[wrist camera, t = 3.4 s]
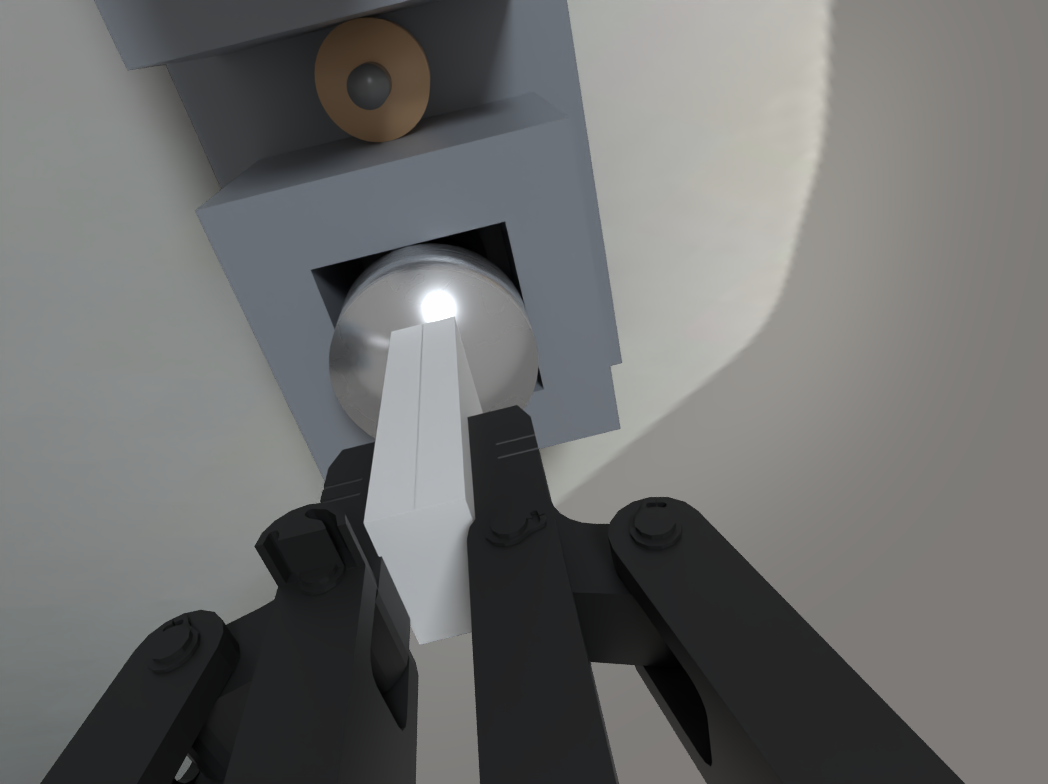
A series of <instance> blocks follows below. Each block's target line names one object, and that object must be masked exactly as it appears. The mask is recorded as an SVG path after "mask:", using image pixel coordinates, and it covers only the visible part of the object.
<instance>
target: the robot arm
mask: <svg viewBox="0 0 1048 784" xmlns="http://www.w3.org/2000/svg"><path fill="white" fill-rule="evenodd" d="M320 502H321V503H317V504H309V505H306V506H303V507H300V508H297V509H295V510H292V511H290V512H288V513H287V514H285V515H284V516H282V517H280V518H279V519H277V520H275V521H274V522H273V523H272V524H271V525H270V526H269V527H268V528H267V529H266V530H265V531H264V532H263V533H262V534H261V536H260V538H259V539H258V541H257V543H256V545H255V548H256V550H257V552H258V553H259V555H260V557H261V558H262V560H263V562H264V563H265V565H266V567H267V568H268V570H269V572H270V574H271V575H272V577H273V579H274V580H275V582H276V584H277V585H278V589H277V593H276V596H275V599H274V600H273V601H271V602H270V603H268V604H266V605H264V606H263V607H261V608H259V609H257V610H255V611H253V612H251V613H249V614H247V615H245V616H243V617H241V618H239V619H237V620H235V621H233V622H231V623H229V624H227V625H225V623H224V622H223V620H222V619H221V618H220V617H219V616H218V615H217V614H216V613H215V612H211V611H205V610H198V611H193V612H189V613H184V614H182V615H180V616H178V617H176V618H174V619H172V620H169V621H167V622H165V623H164V624H163V625H161V626H160V627H159V628H157V629H156V630H155V631H153V632H152V633H151V634H149V635H148V636H147V637H146V639H145V640H144V641H143V642H142V643H141V644H140V645H139V646H138V647H137V649H136V650H135V651H134V652H133V654H132V655H131V656H130V658H129V659H128V661H127V662H126V663H125V665H124V666H123V668H122V669H121V671H120V672H119V673H118V675H117V676H116V678H115V679H114V680H113V682H112V683H111V685H110V686H109V687H108V689H107V690H106V692H105V693H104V694H103V696H102V697H101V699H100V700H99V702H98V703H97V704H96V706H95V707H94V709H93V710H92V711H91V713H90V714H89V716H88V717H87V718H86V720H85V721H84V723H83V724H82V725H81V727H80V728H79V730H78V731H77V733H76V734H75V735H74V737H73V738H72V740H71V741H70V742H69V744H68V745H67V747H66V748H65V749H64V751H63V752H62V754H61V755H60V757H59V758H58V759H57V761H56V762H55V764H54V765H53V766H52V768H51V769H50V771H49V772H48V773H47V775H46V776H45V778H44V779H43V780H42V782H41V783H40V784H416V746H417V707H418V671H417V667H416V662H415V660H414V658H413V656H412V654H411V652H410V650H409V638H410V626H411V628H412V630H413V632H414V634H415V637H416V639H417V641H418V643H419V645H421V644H425V643H429V642H434V641H438V640H442V639H446V638H450V637H454V636H458V635H462V634H466V633H471V632H472V644H473V662H474V678H475V679H474V680H475V697H476V717H477V735H478V752H479V769H480V770H479V772H480V784H619V782H618V777H617V773H616V769H615V765H614V761H613V756H612V752H611V748H610V744H609V739H608V735H607V731H606V727H605V722H604V718H603V714H602V710H601V706H600V701H599V697H598V693H597V689H596V685H595V680H594V676H593V672H592V668H591V662H600V663H613V664H627V665H635V667H636V670H637V671H638V673H639V674H640V676H641V678H642V679H643V681H644V683H645V684H646V686H647V688H648V689H649V691H650V692H651V694H652V696H653V697H654V699H655V700H656V702H657V704H658V705H659V707H660V709H661V710H662V712H663V713H664V715H665V716H666V718H667V720H668V721H669V723H670V725H671V726H672V728H673V730H674V731H675V733H676V734H677V736H678V738H679V739H680V741H681V742H682V744H683V745H684V747H685V749H686V750H687V752H688V753H689V755H690V757H691V759H692V760H693V762H694V763H695V765H696V766H697V768H698V770H699V771H700V773H701V775H702V776H703V778H704V779H705V781H706V783H707V784H965V783H964V782H963V781H962V780H961V779H960V778H959V777H958V776H957V775H956V774H955V773H954V772H953V771H952V770H951V769H950V768H949V767H948V766H947V765H946V764H945V763H944V762H943V761H942V760H941V759H940V758H939V757H938V756H937V755H936V754H935V752H934V751H933V750H932V749H931V748H930V747H929V746H927V744H926V743H925V742H924V741H923V740H922V739H921V738H920V737H919V736H918V735H917V734H916V733H915V732H914V731H913V730H912V729H911V728H910V727H909V726H908V725H907V724H906V723H905V722H904V721H903V720H902V719H901V718H900V717H899V716H898V715H897V714H896V713H895V712H894V711H893V710H892V709H891V708H890V707H889V706H888V704H886V703H885V701H884V700H883V699H882V698H881V697H880V696H879V695H878V694H877V693H876V692H875V691H874V690H873V689H872V688H871V687H870V686H869V685H868V684H867V683H866V682H865V681H864V680H863V679H862V678H861V677H860V676H859V675H858V674H857V673H856V672H855V671H854V670H853V669H852V668H851V667H850V666H849V665H848V664H847V663H846V662H845V661H844V660H843V658H842V657H841V656H840V655H838V653H837V652H836V651H835V650H834V649H832V647H831V646H830V645H829V644H828V643H827V642H826V641H825V640H824V639H823V638H822V637H821V636H819V634H818V633H817V632H816V631H815V630H814V629H813V628H812V627H811V626H810V625H809V624H808V623H807V622H806V621H805V620H804V619H803V618H802V617H801V616H800V615H799V614H798V613H797V612H796V610H794V608H793V607H792V606H791V605H790V604H789V603H788V602H786V600H785V599H784V598H783V597H782V596H781V595H780V594H779V593H778V592H777V591H776V590H775V589H774V588H773V587H772V586H771V585H770V584H769V583H768V582H767V581H766V580H765V579H764V578H763V577H762V576H761V575H760V574H759V573H758V572H757V571H756V570H755V569H754V568H753V567H752V566H751V565H750V564H749V562H748V561H747V560H746V559H745V558H744V557H743V556H742V555H741V554H740V553H739V552H738V551H737V550H736V549H735V548H734V547H733V546H732V545H731V544H730V543H729V542H728V541H727V540H726V539H725V538H724V537H723V536H722V535H721V534H720V533H719V532H718V531H717V530H716V529H715V528H714V527H713V526H712V525H711V524H710V523H709V522H708V521H707V520H706V519H705V518H704V517H703V515H702V514H701V513H699V511H697V510H696V509H695V508H693V507H692V506H690V505H689V504H687V503H686V502H683V501H680V500H676V499H673V498H669V497H649V498H645V499H642V500H638V501H634V502H632V503H630V504H629V505H627V506H625V507H624V508H622V509H621V510H619V511H618V512H617V514H616V515H615V516H614V518H613V519H612V520H611V522H610V524H590V523H581V522H578V521H575V520H571V519H569V518H567V517H565V516H564V515H562V514H560V513H559V511H558V510H557V509H556V508H555V507H554V506H553V504H552V501H551V497H550V493H549V488H548V484H547V480H546V476H545V472H544V468H543V464H542V460H541V456H540V452H539V448H538V444H537V440H536V436H535V432H534V428H533V424H532V420H531V416H529V415H528V414H527V413H526V412H525V411H524V410H522V409H521V408H520V407H519V406H518V405H515V406H511V407H507V408H503V409H499V410H495V411H490V412H486V413H483V412H482V408H481V405H480V402H479V398H478V395H477V391H476V388H475V385H474V381H473V378H472V374H471V371H470V368H469V364H468V361H467V357H466V354H465V351H464V347H463V344H462V340H461V337H460V334H459V330H458V327H457V323H456V320H455V317H454V316H453V317H449V318H444V319H440V320H436V321H432V322H428V323H424V324H420V325H416V326H412V327H408V328H404V329H400V330H396V331H392V332H391V338H390V345H389V352H388V359H387V366H386V372H385V379H384V386H383V393H382V400H381V407H380V414H379V420H378V427H377V434H376V441H375V442H372V443H368V444H364V445H360V446H356V447H352V448H348V449H343V450H342V451H341V452H340V454H339V455H338V456H337V457H336V459H335V460H334V461H333V463H332V464H331V465H330V467H329V468H328V471H327V475H326V479H325V483H324V490H323V492H322V496H321V500H320ZM186 756H188V757H189V758H190V760H191V761H192V763H191V765H190V767H189V769H188V770H187V771H186V773H185V774H184V775H183V777H182V778H181V779H180V780H178V781H176V779H175V776H176V774H177V772H178V770H179V768H180V767H181V765H182V763H183V761H184V759H185V757H186Z"/></svg>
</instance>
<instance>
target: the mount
mask: <svg viewBox="0 0 1048 784" xmlns="http://www.w3.org/2000/svg"><path fill="white" fill-rule="evenodd" d="M94 1H95V3H96V5H97V7H98V10H99V12H100V14H101V16H102V18H103V20H104V22H105V24H106V26H107V28H108V30H109V32H110V35H111V37H112V39H113V41H114V43H115V45H116V47H117V49H118V51H119V53H120V55H121V57H122V60H123V62H124V64H125V66H126V68H127V70H134V69H140V68H147V67H153V66H159V65H165V64H166V66H167V69H168V71H169V73H170V75H171V78H172V80H173V82H174V84H175V86H176V89H177V91H178V93H179V95H180V98H181V100H182V102H183V104H184V106H185V109H186V111H187V113H188V115H189V118H190V120H191V122H192V124H193V126H194V129H195V131H196V133H197V135H198V138H199V140H200V142H201V144H202V146H203V149H204V151H205V153H206V155H207V158H208V160H209V162H210V164H211V166H212V169H213V171H214V173H215V175H216V178H217V180H218V182H219V184H220V186H221V189H222V190H220V191H219V192H218V193H217V194H215V195H214V196H213V197H212V198H210V199H209V200H208V201H206V202H205V203H204V204H203V205H201V206H200V207H199V208H198V209H196V210H195V212H196V214H197V216H198V218H199V220H200V222H201V224H202V226H203V229H204V231H205V233H206V235H207V237H208V239H209V241H210V243H211V245H212V247H213V249H214V251H215V254H216V256H217V258H218V260H219V262H220V264H221V266H222V268H223V270H224V272H225V274H226V276H227V279H228V281H229V283H230V285H231V287H232V289H233V291H234V293H235V295H236V297H237V299H238V302H239V304H240V306H241V308H242V310H243V312H244V314H245V316H246V318H247V320H248V322H249V324H250V327H251V329H252V331H253V333H254V335H255V337H256V339H257V341H258V343H259V345H260V347H261V349H262V352H263V354H264V356H265V358H266V360H267V362H268V364H269V366H270V368H271V370H272V372H273V374H274V377H275V379H276V381H277V383H278V385H279V387H280V389H281V391H282V393H283V395H284V397H285V400H286V402H287V404H288V406H289V408H290V410H291V412H292V414H293V416H294V418H295V420H296V422H297V425H298V427H299V429H300V431H301V433H302V435H303V437H304V439H305V441H306V443H307V445H308V447H309V450H310V452H311V454H312V456H313V458H314V460H315V462H316V464H317V466H318V468H319V470H320V473H321V475H322V477H323V479H324V481H325V479H326V475H327V471H328V468H329V467H330V465H331V464H332V463H333V461H334V460H335V459H336V457H337V456H338V455H339V454H340V452H341V451H342V450H343V449H348V448H352V447H356V446H360V445H364V444H368V443H372V442H375V441H376V439H375V438H374V437H372V436H371V435H369V434H367V433H366V432H365V431H364V430H362V429H361V428H360V427H359V426H358V425H357V424H356V423H355V422H354V421H353V420H352V419H351V418H350V417H349V416H348V414H347V413H346V412H345V410H344V409H343V407H342V406H341V404H340V402H339V400H338V398H337V396H336V395H335V392H334V389H333V386H332V383H331V378H330V373H329V352H330V345H331V341H332V338H333V334H334V331H335V328H336V325H337V322H338V318H339V315H340V312H341V309H342V306H343V303H344V300H345V298H346V296H347V294H348V291H349V289H350V288H351V286H352V285H353V283H354V282H355V280H356V279H357V278H358V277H359V275H360V274H361V273H362V272H363V271H364V270H365V269H366V268H367V267H368V266H370V265H371V264H372V263H373V262H375V261H376V260H378V259H379V258H381V257H382V255H383V252H384V251H388V250H392V249H396V248H400V247H404V246H408V245H412V244H416V243H420V242H424V241H428V240H432V239H436V238H441V237H445V236H449V235H453V234H457V233H461V232H465V231H469V230H473V229H475V230H476V231H477V233H478V234H479V236H480V237H481V239H482V242H483V244H484V247H485V250H486V254H487V258H488V260H489V261H491V262H492V263H494V264H495V265H496V266H497V267H499V268H500V269H501V270H502V271H503V272H504V273H505V274H506V275H507V276H508V278H509V279H510V280H511V281H512V283H513V284H514V286H515V287H516V289H517V290H518V292H519V294H520V296H521V298H522V301H523V303H524V306H525V310H526V313H527V316H528V319H529V322H530V325H531V329H532V332H533V335H534V338H535V341H536V345H537V351H538V374H537V381H536V384H535V388H534V391H533V393H532V396H531V398H530V400H529V402H528V404H527V405H526V407H525V409H524V411H525V412H526V413H527V414H528V415H529V416H531V420H532V424H533V428H534V432H535V436H536V440H537V444H538V448H539V449H541V448H545V447H549V446H553V445H557V444H561V443H565V442H569V441H573V440H577V439H581V438H585V437H589V436H593V435H597V434H601V433H605V432H609V431H613V430H618V429H620V423H619V417H618V410H617V404H616V398H615V392H614V386H613V380H612V374H611V368H610V366H612V365H616V364H620V363H622V359H621V353H620V346H619V339H618V333H617V326H616V320H615V313H614V307H613V300H612V293H611V287H610V280H609V274H608V267H607V261H606V254H605V248H604V241H603V234H602V228H601V221H600V215H599V208H598V202H597V195H596V188H595V182H594V175H593V169H592V162H591V156H590V149H589V142H588V136H587V129H586V123H585V116H584V110H583V103H582V97H581V90H580V83H579V77H578V70H577V64H576V57H575V51H574V44H573V37H572V31H571V24H570V18H569V11H568V5H567V0H94Z"/></svg>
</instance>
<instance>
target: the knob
mask: <svg viewBox="0 0 1048 784" xmlns="http://www.w3.org/2000/svg"><path fill="white" fill-rule="evenodd" d="M453 316H454V317H455V320H456V323H457V327H458V330H459V334H460V337H461V340H462V344H463V347H464V351H465V354H466V357H467V361H468V364H469V368H470V371H471V374H472V378H473V381H474V385H475V388H476V391H477V395H478V398H479V402H480V405H481V408H482V412H483V413H486V412H490V411H495V410H499V409H503V408H507V407H511V406H515V405H518V406H519V407H520V408H521V409H522V410H524V409H525V407H526V405H527V404H528V402H529V400H530V398H531V396H532V393H533V391H534V388H535V384H536V381H537V374H538V351H537V345H536V341H535V338H534V335H533V332H532V329H531V325H530V322H529V319H528V316H527V313H526V310H525V306H524V303H523V301H522V298H521V296H520V294H519V292H518V290H517V289H516V287H515V286H514V284H513V283H512V281H511V280H510V279H509V278H508V276H507V275H506V274H505V273H504V272H503V271H502V270H501V269H500V268H499V267H497V266H496V265H495V264H494V263H492V262H491V261H489V260H488V258H487V254H486V250H485V247H484V244H483V242H482V239H481V237H480V236H479V234H478V233H477V231H476V230H475V229H473V230H469V231H465V232H461V233H457V234H453V235H449V236H445V237H441V238H436V239H432V240H428V241H424V242H420V243H416V244H412V245H408V246H404V247H400V248H396V249H392V250H388V251H384V252H383V255H382V257H381V258H379V259H378V260H376V261H375V262H373V263H372V264H371V265H370V266H368V267H367V268H366V269H365V270H364V271H363V272H362V273H361V274H360V275H359V277H358V278H357V279H356V280H355V282H354V283H353V285H352V286H351V288H350V289H349V291H348V294H347V296H346V298H345V300H344V303H343V306H342V309H341V312H340V315H339V318H338V322H337V325H336V328H335V331H334V334H333V338H332V341H331V345H330V352H329V373H330V378H331V383H332V386H333V389H334V392H335V395H336V396H337V398H338V400H339V402H340V404H341V406H342V407H343V409H344V410H345V412H346V413H347V414H348V416H349V417H350V418H351V419H352V420H353V421H354V422H355V423H356V424H357V425H358V426H359V427H360V428H361V429H362V430H364V431H365V432H366V433H367V434H369V435H371V436H372V437H374V438H375V439H376V434H377V427H378V420H379V414H380V407H381V400H382V393H383V386H384V379H385V372H386V366H387V359H388V352H389V345H390V338H391V332H392V331H396V330H400V329H404V328H408V327H412V326H416V325H420V324H424V323H428V322H432V321H436V320H440V319H444V318H449V317H453Z"/></svg>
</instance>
